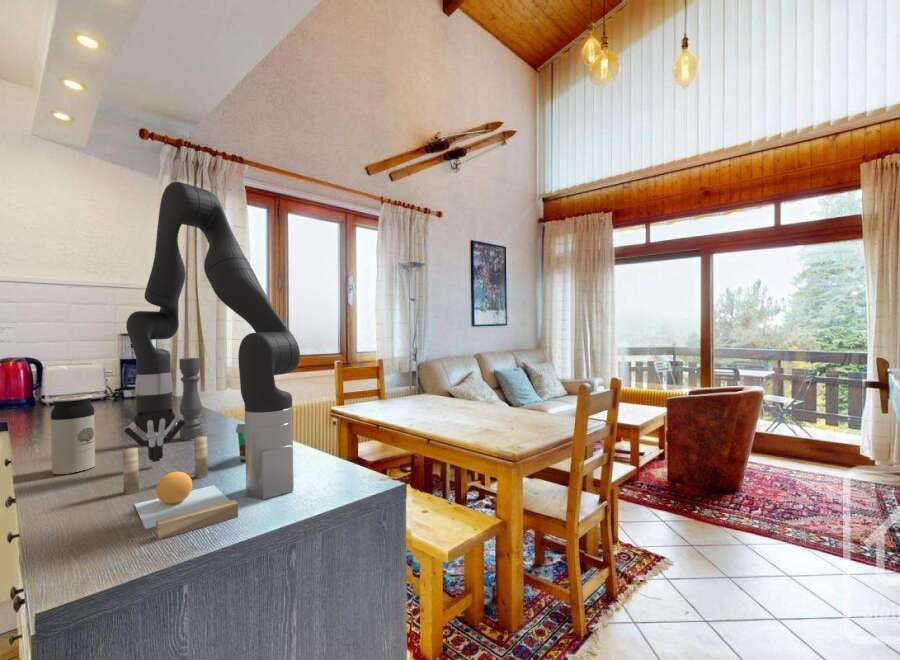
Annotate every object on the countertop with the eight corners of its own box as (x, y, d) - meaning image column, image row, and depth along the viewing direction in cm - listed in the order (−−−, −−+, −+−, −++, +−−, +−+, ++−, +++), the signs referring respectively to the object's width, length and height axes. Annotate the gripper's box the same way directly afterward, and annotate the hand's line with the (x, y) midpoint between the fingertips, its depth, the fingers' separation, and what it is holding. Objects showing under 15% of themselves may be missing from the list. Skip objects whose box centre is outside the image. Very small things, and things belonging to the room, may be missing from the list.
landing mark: (233, 505, 82) (233, 504, 82) (145, 529, 73) (145, 528, 73) (214, 486, 93) (214, 485, 93) (134, 505, 83) (134, 504, 83)
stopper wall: (238, 516, 77) (237, 503, 77) (158, 539, 69) (158, 524, 69) (234, 513, 79) (234, 499, 79) (156, 535, 71) (156, 520, 71)
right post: (209, 476, 99) (208, 437, 99) (196, 479, 97) (195, 439, 97) (206, 473, 101) (205, 435, 101) (193, 476, 99) (193, 437, 99)
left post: (139, 491, 90) (139, 449, 90) (124, 495, 88) (123, 451, 88) (138, 488, 92) (137, 446, 92) (123, 491, 90) (122, 449, 90)
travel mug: (44, 473, 103) (42, 398, 103) (83, 463, 110) (81, 393, 110) (64, 477, 100) (62, 400, 100) (102, 466, 107) (101, 395, 107)
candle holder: (175, 439, 132) (173, 359, 132) (193, 434, 138) (192, 357, 138) (189, 441, 130) (187, 359, 130) (207, 436, 136) (205, 358, 136)
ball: (196, 482, 83) (191, 462, 87) (159, 489, 79) (155, 468, 83) (193, 506, 85) (188, 485, 89) (156, 514, 81) (153, 492, 85)
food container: (258, 465, 106) (257, 425, 106) (236, 464, 108) (235, 424, 108) (286, 451, 118) (285, 415, 118) (266, 450, 120) (266, 414, 120)
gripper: (122, 396, 99) (124, 471, 99) (188, 390, 108) (189, 458, 108) (119, 393, 104) (120, 463, 105) (181, 387, 113) (183, 452, 113)
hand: (155, 460), depth 106 cm, fingers closed
